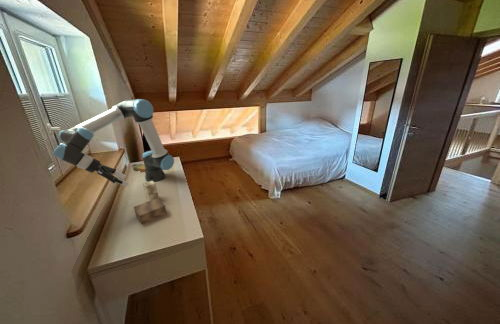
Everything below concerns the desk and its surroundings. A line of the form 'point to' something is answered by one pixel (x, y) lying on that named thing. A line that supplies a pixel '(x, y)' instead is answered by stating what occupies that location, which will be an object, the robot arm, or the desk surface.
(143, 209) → the walnut box
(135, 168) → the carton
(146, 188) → the oak block
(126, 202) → the desk surface
